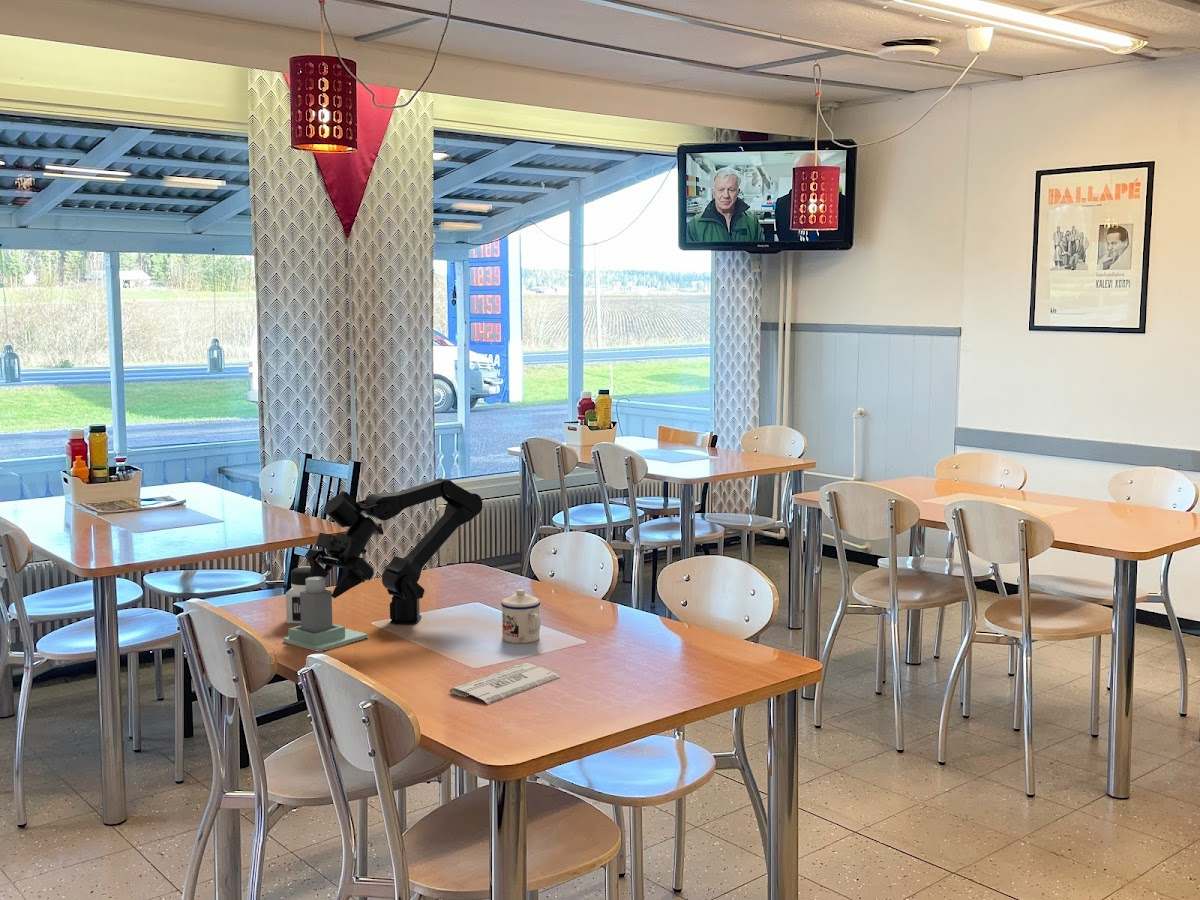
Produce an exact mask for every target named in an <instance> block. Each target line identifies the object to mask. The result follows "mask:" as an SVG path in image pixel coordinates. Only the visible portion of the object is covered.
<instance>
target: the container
mask: <svg viewBox="0 0 1200 900" xmlns="http://www.w3.org/2000/svg"><path fill="white" fill-rule="evenodd" d="M309 574H310V566H298V567H295V568H293V569H292V570H291V572H290V582H291V583H290V584H291V588H290V589H288V590H287V592H286V593H285V618H286V620H285V621H286V624H301V609H300V592H303V591H306V578H309Z"/></svg>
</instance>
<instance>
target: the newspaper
mask: <svg viewBox="0 0 1200 900" xmlns="http://www.w3.org/2000/svg"><path fill="white" fill-rule="evenodd" d="M560 677H561V675H559V674H558V673H557V672H554V671H553V670H552V671H551V670H549V669H547V668H545V667H543V666H539V665H535V664H532V663H525V662H524V663H521V664H519V665H516V664H515V665H512V666H510V667H507V668H505V669H502V670H499V671H496V672H495V673H492V674H489V675H487V676H484V677H480V678H478V679H475V680H472V681H469V682H467V683H464V684H460V685H457V686H454V687H452V688H450V689H449V694H452V695H457V696H459V697H461V696H464V697H463V698H466V697H465V696H467V695H469V694H471V695H470V696H473V697H476V698H477V699H479V700H482V701H483V702H484V703H486V705H487V704H488V705H490V704H489V703H491V704H493V703H496V702H498V700H499V701H501V700H504V699H506V698H510V697H512V696H514V695H517V693H518V694H520V693H522V692H526V691H528V690H531V689H534V688H537V687H538V686H542V685H544V684H543V683H545V684H547V683H550V682H553V681H556V680H558V679H561V678H560ZM555 679H556V680H555ZM552 680H553V681H552ZM549 681H550V682H549ZM546 682H547V683H546ZM541 684H542V685H541ZM536 686H537V687H536ZM509 696H510V697H509ZM503 698H504V699H503ZM495 701H496V702H495ZM492 702H493V703H492Z"/></svg>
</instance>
